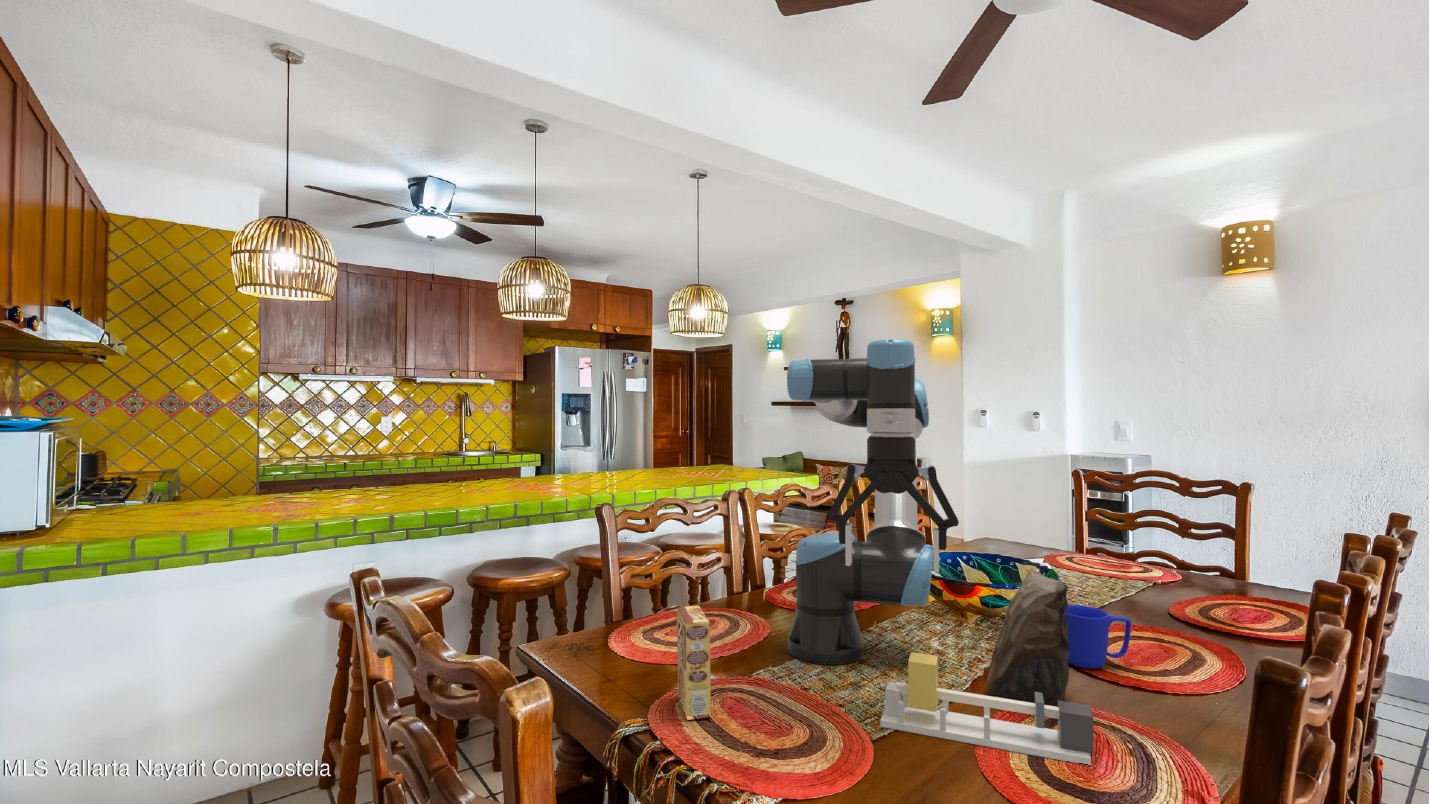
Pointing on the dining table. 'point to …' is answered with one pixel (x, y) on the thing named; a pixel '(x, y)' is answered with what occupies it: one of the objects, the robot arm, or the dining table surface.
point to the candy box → (693, 660)
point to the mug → (1092, 636)
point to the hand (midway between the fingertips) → (891, 567)
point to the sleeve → (923, 681)
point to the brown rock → (1033, 644)
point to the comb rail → (997, 723)
